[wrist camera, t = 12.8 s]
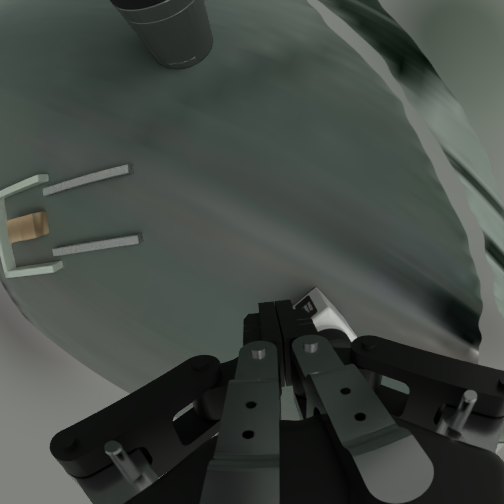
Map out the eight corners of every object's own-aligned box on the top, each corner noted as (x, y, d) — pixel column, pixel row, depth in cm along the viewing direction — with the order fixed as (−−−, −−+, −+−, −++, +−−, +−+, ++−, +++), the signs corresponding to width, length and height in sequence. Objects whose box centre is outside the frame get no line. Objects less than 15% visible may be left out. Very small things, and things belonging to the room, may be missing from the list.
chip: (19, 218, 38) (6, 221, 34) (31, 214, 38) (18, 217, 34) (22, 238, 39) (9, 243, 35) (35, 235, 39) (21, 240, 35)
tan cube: (32, 214, 38) (18, 218, 34) (46, 210, 38) (32, 213, 34) (35, 236, 39) (22, 240, 35) (49, 233, 39) (36, 237, 35)
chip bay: (0, 193, 36) (-9, 195, 33) (48, 174, 36) (37, 174, 33) (14, 273, 40) (5, 278, 37) (63, 267, 40) (53, 272, 37)
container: (277, 317, 43) (288, 367, 30) (315, 285, 42) (342, 326, 29) (307, 346, 44) (325, 397, 32) (343, 317, 43) (374, 361, 30)
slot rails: (49, 188, 37) (42, 189, 35) (133, 165, 37) (127, 164, 35) (60, 253, 40) (53, 256, 38) (143, 240, 39) (138, 243, 37)
